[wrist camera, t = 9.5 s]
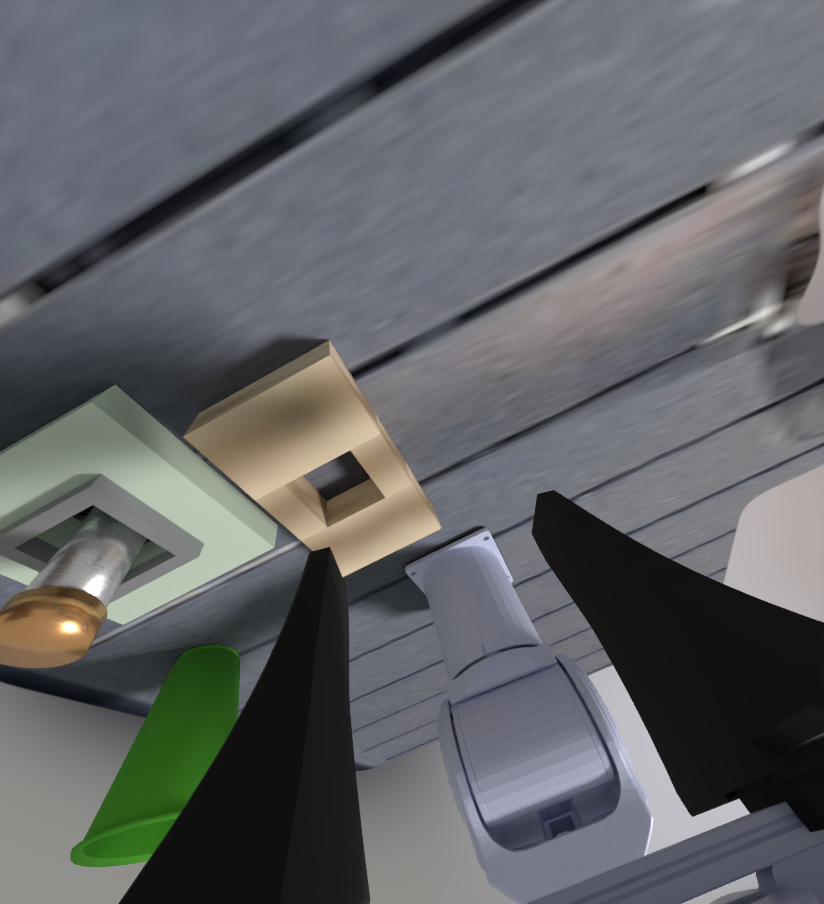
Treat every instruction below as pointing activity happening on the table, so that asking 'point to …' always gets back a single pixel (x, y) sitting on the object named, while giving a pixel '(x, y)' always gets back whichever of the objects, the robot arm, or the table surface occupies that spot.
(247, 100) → the table surface
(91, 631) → the pin
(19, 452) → the socket
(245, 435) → the mount
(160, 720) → the cup
